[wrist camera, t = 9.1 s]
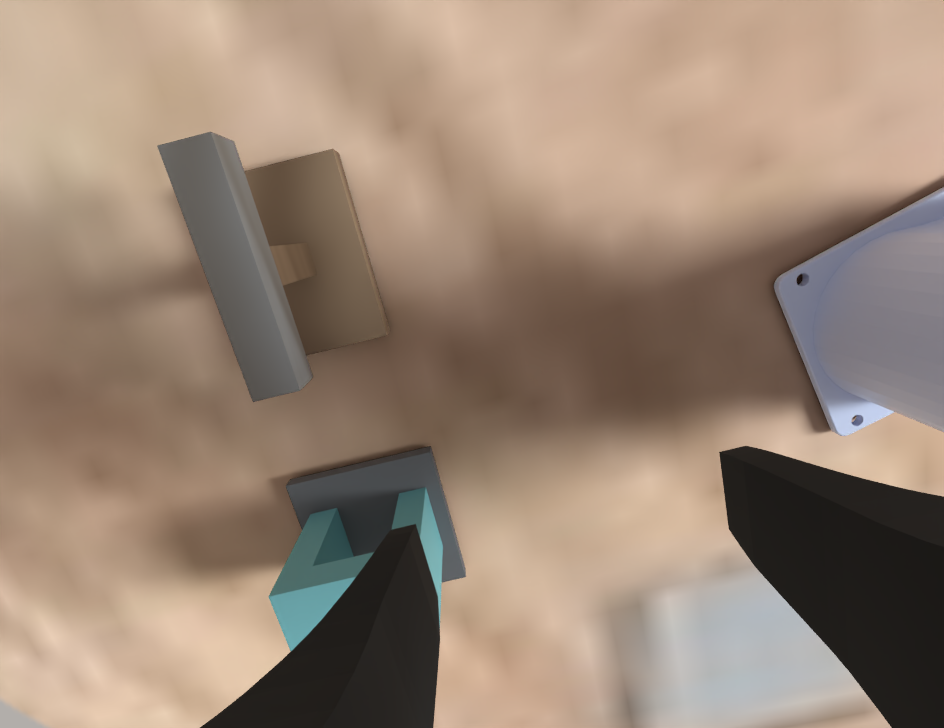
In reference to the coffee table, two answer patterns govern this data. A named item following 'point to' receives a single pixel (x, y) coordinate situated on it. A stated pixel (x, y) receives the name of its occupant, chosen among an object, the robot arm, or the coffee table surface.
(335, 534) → the teal notched block
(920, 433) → the coffee table surface
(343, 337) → the stand
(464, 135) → the coffee table surface
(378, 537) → the mat
